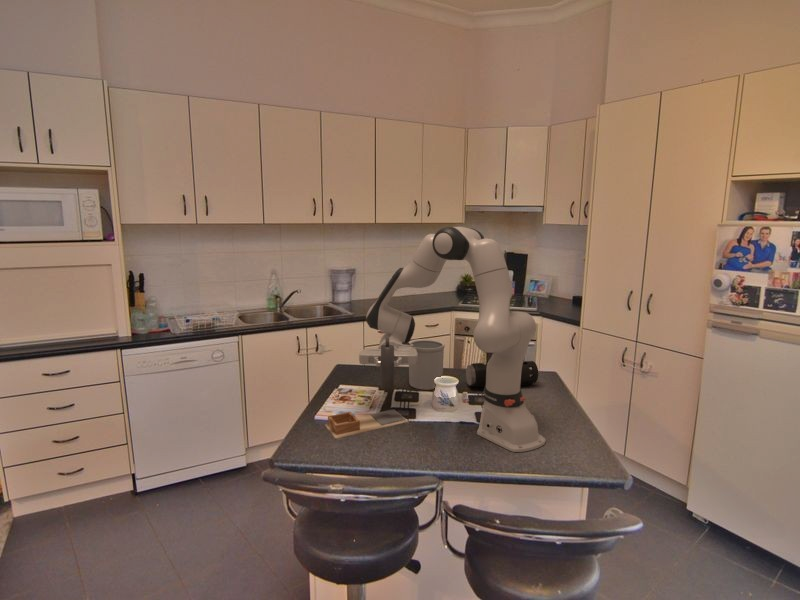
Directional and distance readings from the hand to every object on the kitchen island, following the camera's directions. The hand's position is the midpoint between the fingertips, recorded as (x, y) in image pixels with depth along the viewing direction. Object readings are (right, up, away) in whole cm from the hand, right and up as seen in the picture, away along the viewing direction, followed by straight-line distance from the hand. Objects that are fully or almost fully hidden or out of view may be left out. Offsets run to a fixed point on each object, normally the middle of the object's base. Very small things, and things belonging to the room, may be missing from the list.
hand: (387, 364), depth 156 cm
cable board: (-7, -21, +1) cm, 22 cm away
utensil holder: (+15, -14, +40) cm, 45 cm away
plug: (0, -8, +2) cm, 8 cm away
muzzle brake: (+46, -14, +38) cm, 61 cm away
